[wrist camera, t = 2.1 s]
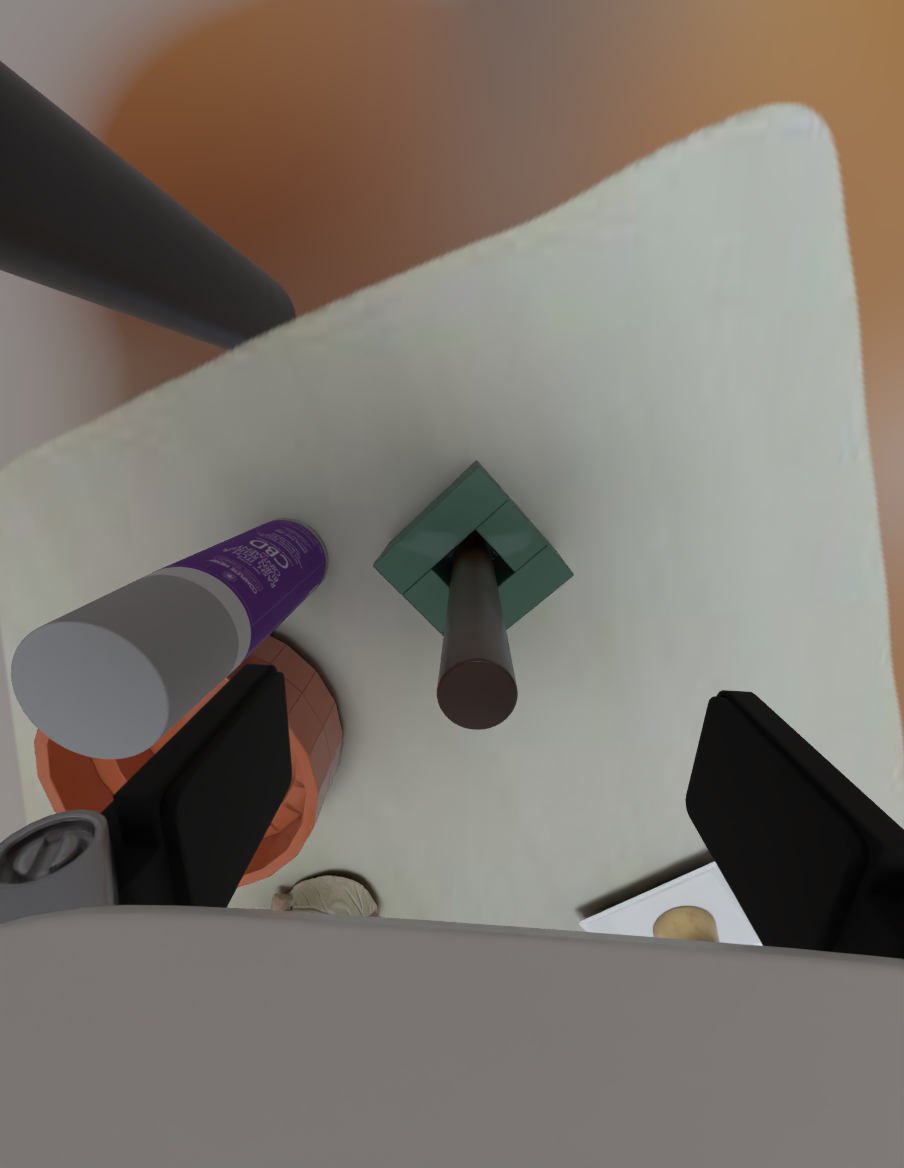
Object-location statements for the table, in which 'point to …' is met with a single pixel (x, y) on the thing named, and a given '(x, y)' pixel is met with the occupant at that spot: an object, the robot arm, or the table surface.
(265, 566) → the container
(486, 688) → the stick
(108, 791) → the bowl
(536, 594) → the holder
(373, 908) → the figurine
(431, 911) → the table surface
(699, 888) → the dessert
